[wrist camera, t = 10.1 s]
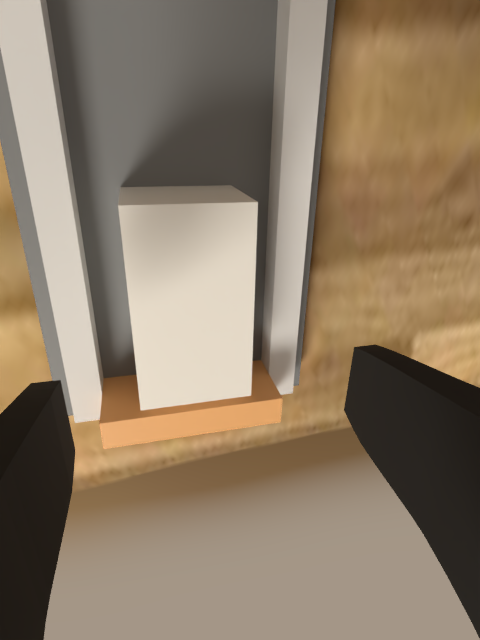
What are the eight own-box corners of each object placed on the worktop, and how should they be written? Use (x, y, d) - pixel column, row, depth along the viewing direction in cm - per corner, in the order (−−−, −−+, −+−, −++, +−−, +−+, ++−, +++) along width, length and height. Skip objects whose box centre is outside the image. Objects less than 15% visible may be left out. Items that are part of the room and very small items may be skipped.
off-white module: (231, 185, 15) (257, 201, 12) (229, 348, 18) (251, 395, 15) (119, 187, 14) (117, 205, 11) (138, 358, 17) (140, 410, 14)
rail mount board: (332, -135, 13) (413, -235, 9) (290, 372, 21) (324, 424, 18) (-61, -203, 10) (-162, -377, 7) (64, 400, 19) (48, 468, 15)
